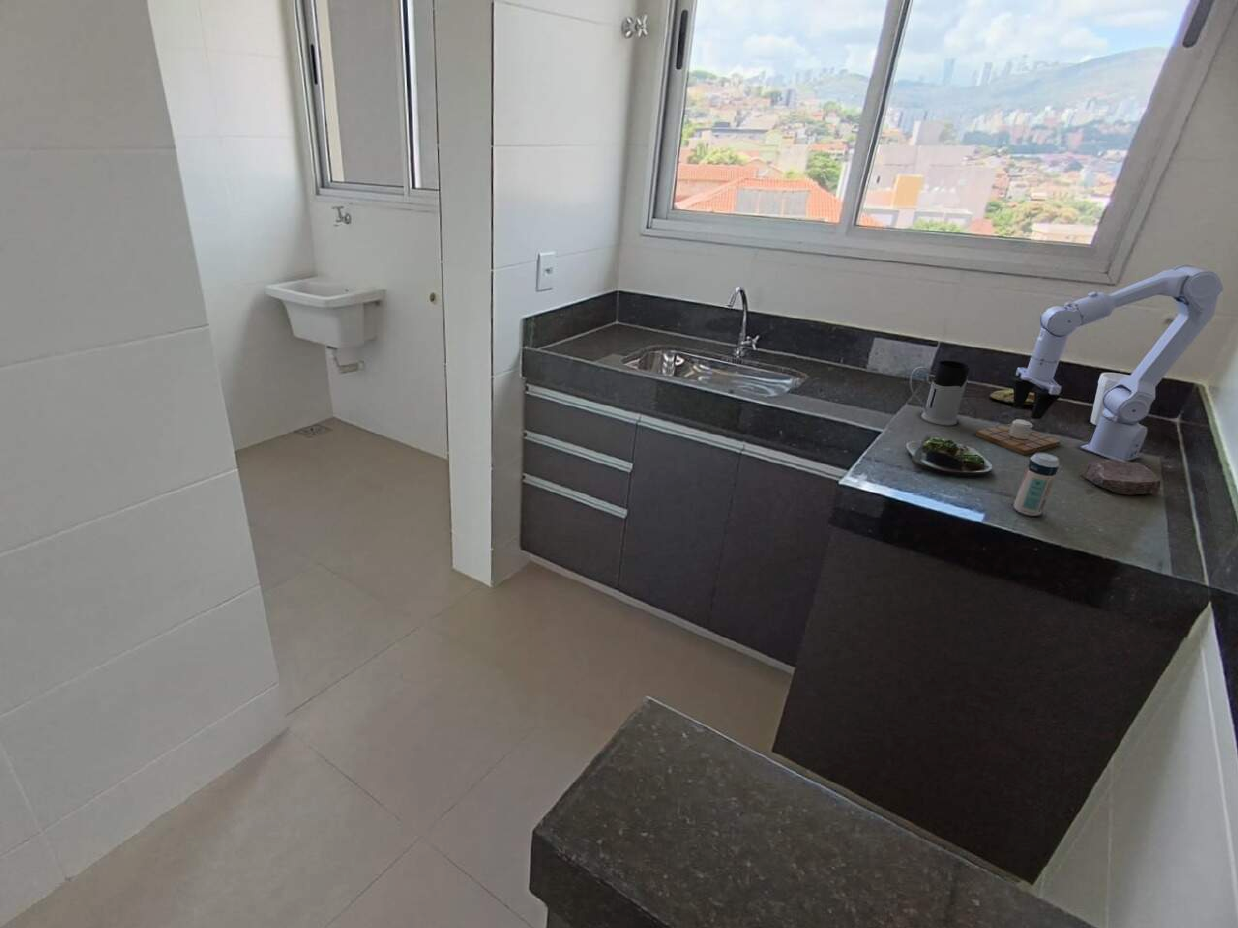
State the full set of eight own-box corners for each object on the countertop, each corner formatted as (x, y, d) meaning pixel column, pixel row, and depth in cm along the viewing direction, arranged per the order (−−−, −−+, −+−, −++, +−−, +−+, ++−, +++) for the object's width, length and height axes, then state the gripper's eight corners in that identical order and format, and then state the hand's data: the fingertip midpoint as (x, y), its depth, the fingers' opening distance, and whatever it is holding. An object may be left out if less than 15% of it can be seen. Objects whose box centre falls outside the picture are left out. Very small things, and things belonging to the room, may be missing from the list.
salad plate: (889, 439, 160) (893, 422, 158) (963, 445, 160) (969, 427, 158) (916, 474, 143) (921, 455, 141) (1000, 481, 142) (1006, 461, 140)
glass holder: (961, 426, 171) (978, 371, 164) (905, 421, 172) (919, 366, 166) (950, 414, 179) (965, 361, 172) (896, 409, 180) (910, 356, 173)
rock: (1046, 405, 190) (1049, 393, 189) (1035, 408, 183) (1038, 395, 182) (997, 397, 199) (1000, 386, 198) (985, 400, 192) (988, 387, 191)
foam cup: (1132, 428, 176) (1151, 382, 171) (1111, 432, 173) (1130, 385, 167) (1096, 415, 184) (1113, 371, 178) (1076, 419, 180) (1093, 374, 175)
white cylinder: (1030, 436, 164) (1035, 422, 162) (1025, 440, 161) (1030, 426, 159) (1011, 430, 166) (1016, 417, 165) (1006, 434, 163) (1010, 421, 162)
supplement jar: (1030, 505, 132) (1050, 451, 127) (1045, 517, 128) (1066, 462, 123) (1007, 505, 132) (1026, 451, 127) (1021, 517, 128) (1042, 461, 123)
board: (1058, 445, 163) (1060, 440, 162) (1024, 455, 156) (1025, 450, 155) (1010, 427, 172) (1012, 422, 172) (975, 435, 166) (977, 430, 165)
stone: (1079, 474, 147) (1087, 455, 145) (1135, 480, 146) (1144, 462, 144) (1099, 492, 139) (1108, 473, 137) (1159, 499, 138) (1169, 480, 136)
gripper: (1011, 349, 161) (994, 401, 167) (1047, 367, 148) (1028, 423, 154) (1039, 351, 162) (1021, 402, 168) (1077, 368, 149) (1057, 424, 154)
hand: (1026, 412), depth 161 cm, fingers open, 7 cm apart
